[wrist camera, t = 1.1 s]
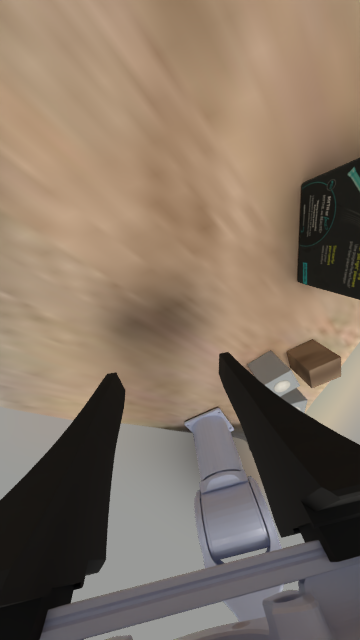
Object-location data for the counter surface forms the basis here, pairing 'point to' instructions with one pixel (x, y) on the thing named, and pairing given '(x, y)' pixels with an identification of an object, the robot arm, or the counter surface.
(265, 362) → the grey dot cube
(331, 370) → the walnut cube
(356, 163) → the tampon box
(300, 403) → the grey dot cube
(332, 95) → the counter surface
